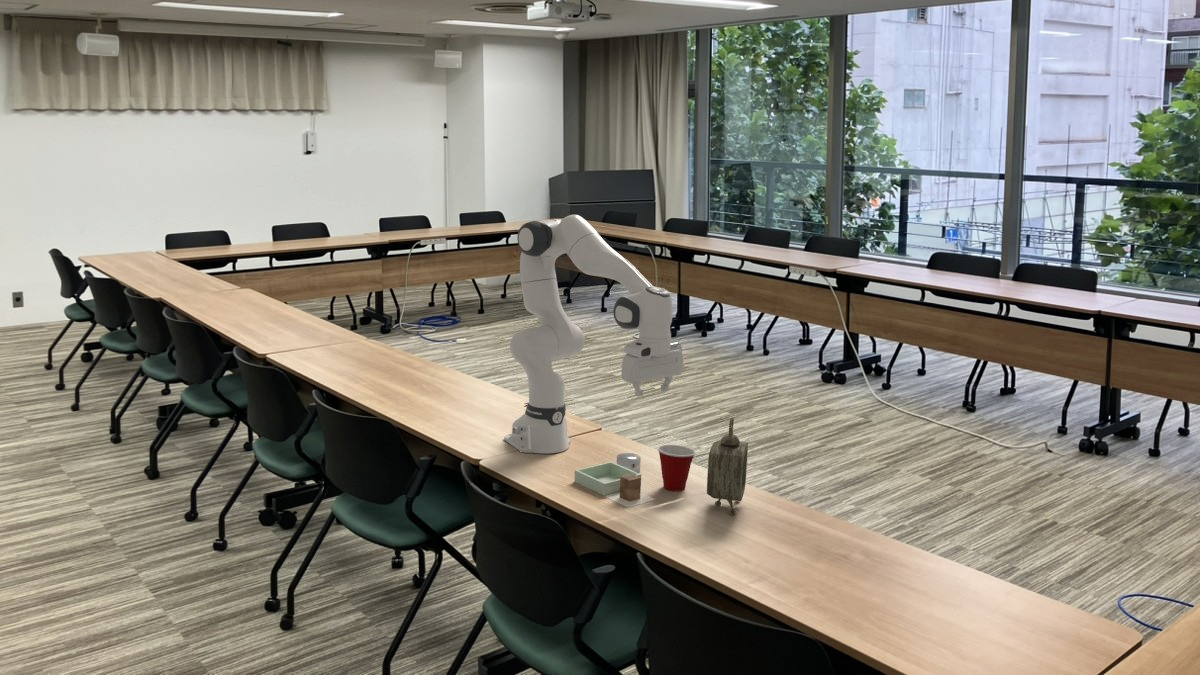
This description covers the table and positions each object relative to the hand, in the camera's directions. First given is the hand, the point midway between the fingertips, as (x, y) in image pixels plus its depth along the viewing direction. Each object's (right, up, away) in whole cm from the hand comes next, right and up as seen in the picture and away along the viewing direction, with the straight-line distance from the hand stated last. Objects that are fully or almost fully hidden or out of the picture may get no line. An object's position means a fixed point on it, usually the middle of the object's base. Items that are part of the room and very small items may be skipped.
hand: (651, 393), depth 288 cm
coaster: (-6, -29, -7) cm, 30 cm away
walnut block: (-6, -28, -8) cm, 30 cm away
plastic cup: (+7, -27, +2) cm, 28 cm away
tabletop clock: (+19, -30, -11) cm, 37 cm away
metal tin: (-6, -24, +14) cm, 29 cm away
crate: (-12, -26, +3) cm, 29 cm away
